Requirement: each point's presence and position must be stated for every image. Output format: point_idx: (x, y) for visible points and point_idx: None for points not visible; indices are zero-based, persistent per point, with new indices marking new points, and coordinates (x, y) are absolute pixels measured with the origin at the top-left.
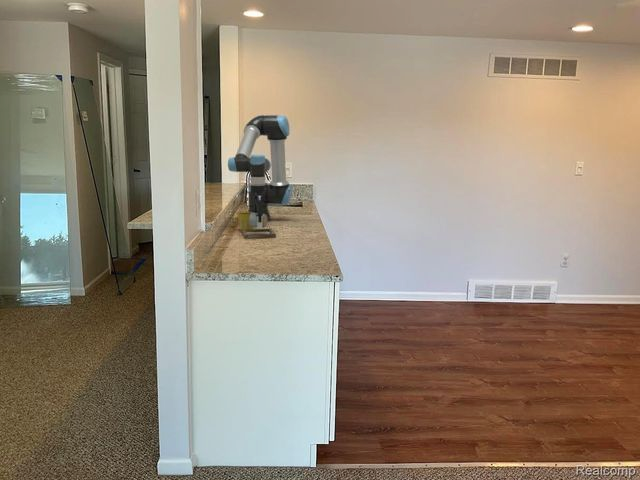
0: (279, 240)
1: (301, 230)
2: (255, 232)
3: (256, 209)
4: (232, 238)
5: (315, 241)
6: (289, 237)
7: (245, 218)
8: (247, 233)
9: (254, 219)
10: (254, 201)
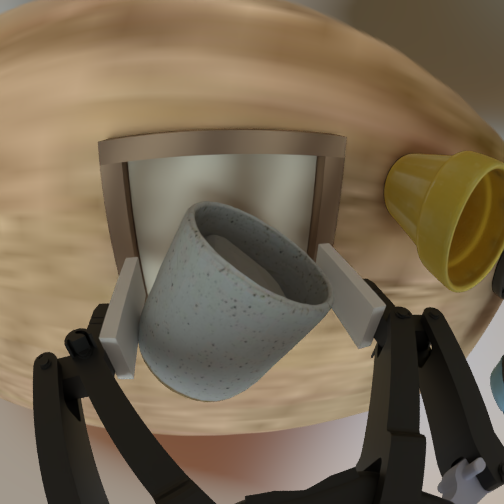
0: None
1: (314, 396)
2: (287, 226)
3: (382, 357)
4: (154, 51)
5: (94, 414)
6: None
7: (435, 199)
8: (260, 166)
9: (160, 283)
10: (386, 464)
